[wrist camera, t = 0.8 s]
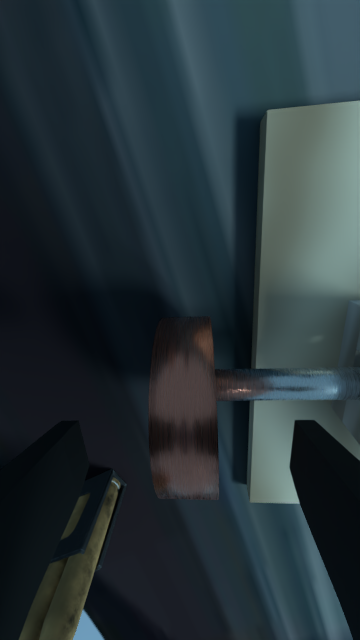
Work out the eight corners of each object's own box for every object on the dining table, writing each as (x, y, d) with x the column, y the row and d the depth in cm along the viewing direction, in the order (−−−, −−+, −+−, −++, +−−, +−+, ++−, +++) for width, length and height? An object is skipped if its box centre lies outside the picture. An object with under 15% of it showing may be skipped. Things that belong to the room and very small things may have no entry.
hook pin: (420, 288, 12) (688, 361, 5) (388, 409, 14) (548, 563, 8) (168, 298, 13) (138, 371, 6) (177, 410, 15) (161, 546, 9)
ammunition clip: (30, 525, 22) (-149, 840, 11) (14, 512, 21) (-189, 827, 10) (127, 484, 19) (29, 840, 8) (113, 468, 19) (-14, 822, 8)
